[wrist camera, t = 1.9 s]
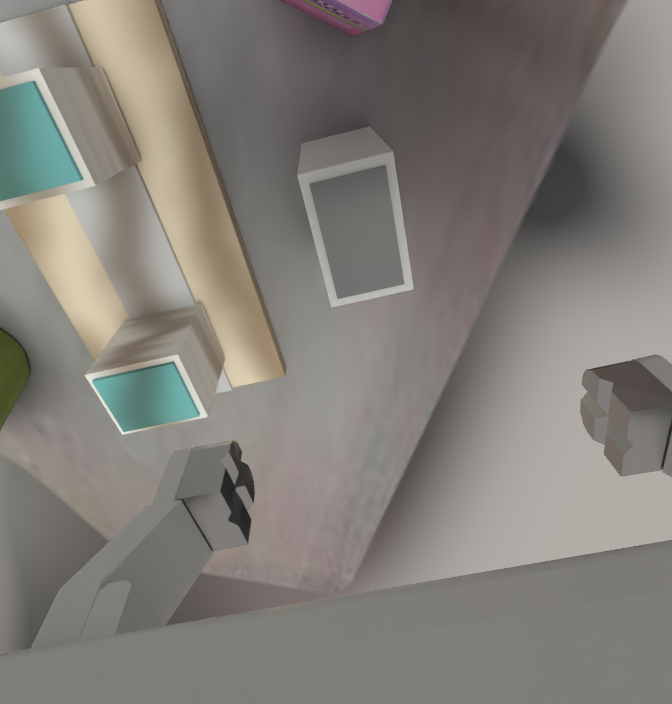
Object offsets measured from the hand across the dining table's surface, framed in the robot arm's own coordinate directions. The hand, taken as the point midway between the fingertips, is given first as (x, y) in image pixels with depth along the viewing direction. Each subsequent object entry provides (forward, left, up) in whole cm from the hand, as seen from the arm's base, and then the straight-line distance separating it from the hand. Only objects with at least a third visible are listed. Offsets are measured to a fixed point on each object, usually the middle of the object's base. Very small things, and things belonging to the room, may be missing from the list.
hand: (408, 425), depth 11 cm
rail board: (+15, 0, -24) cm, 28 cm away
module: (0, 0, -24) cm, 24 cm away
